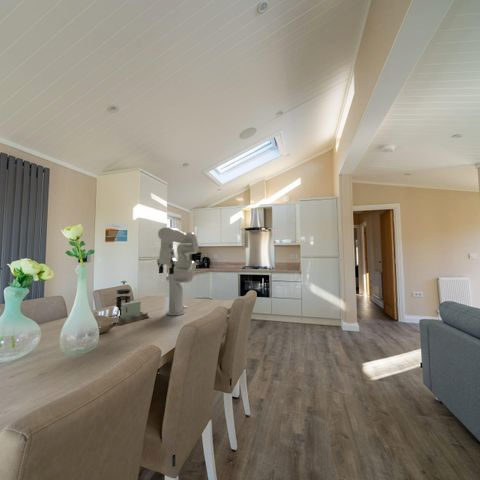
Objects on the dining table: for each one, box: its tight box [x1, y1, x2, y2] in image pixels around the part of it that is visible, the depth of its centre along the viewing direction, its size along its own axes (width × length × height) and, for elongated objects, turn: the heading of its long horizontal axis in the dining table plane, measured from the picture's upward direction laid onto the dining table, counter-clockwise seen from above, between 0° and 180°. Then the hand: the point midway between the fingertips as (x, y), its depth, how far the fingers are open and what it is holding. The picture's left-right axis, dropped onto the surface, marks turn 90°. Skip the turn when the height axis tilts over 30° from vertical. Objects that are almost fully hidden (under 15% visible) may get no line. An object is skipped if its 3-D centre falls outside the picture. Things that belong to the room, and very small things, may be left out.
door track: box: [115, 310, 150, 326], centre depth 157 cm, size 20×11×3 cm, turn 148°
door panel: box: [121, 300, 142, 318], centre depth 157 cm, size 12×3×10 cm, turn 148°
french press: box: [115, 280, 131, 316], centre depth 170 cm, size 12×9×23 cm
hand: (166, 273), depth 155 cm, fingers open, 9 cm apart
